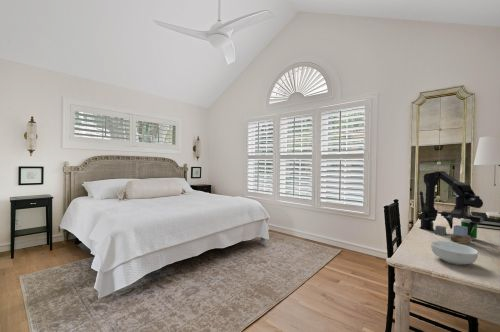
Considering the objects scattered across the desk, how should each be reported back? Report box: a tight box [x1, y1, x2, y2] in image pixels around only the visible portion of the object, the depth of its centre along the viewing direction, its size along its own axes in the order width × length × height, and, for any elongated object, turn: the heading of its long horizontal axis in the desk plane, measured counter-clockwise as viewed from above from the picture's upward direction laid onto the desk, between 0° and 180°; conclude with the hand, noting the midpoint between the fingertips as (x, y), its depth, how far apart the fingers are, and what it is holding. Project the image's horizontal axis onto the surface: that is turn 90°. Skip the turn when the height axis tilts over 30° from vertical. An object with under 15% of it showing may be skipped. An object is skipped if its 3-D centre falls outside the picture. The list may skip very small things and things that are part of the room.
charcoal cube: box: [434, 225, 447, 236], centre depth 159 cm, size 5×5×5 cm
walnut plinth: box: [449, 233, 471, 245], centre depth 144 cm, size 7×7×4 cm
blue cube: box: [452, 224, 468, 237], centre depth 144 cm, size 5×5×5 cm
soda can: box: [460, 218, 478, 241], centre depth 151 cm, size 8×8×12 cm
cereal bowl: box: [430, 240, 479, 266], centre depth 114 cm, size 17×17×7 cm
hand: (460, 230), depth 144 cm, fingers open, 9 cm apart
